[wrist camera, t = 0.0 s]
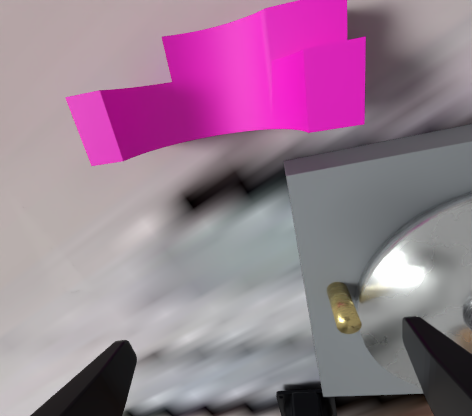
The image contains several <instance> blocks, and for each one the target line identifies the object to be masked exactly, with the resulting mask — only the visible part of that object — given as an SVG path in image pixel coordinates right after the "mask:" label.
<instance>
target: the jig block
mask: <svg viewBox="0 0 472 416" xmlns="http://www.w3.org/2000/svg"><path fill="white" fill-rule="evenodd" d="M284 167H285V173H286V179H287V185H288V191H289V197H290V203H291V209H292V215H293V221H294V227H295V233H296V239H297V245H298V251H299V257H300V263H301V269H302V275H303V281H304V287H305V293H306V299H307V305H308V311H309V317H310V323H311V329H312V335H313V341H314V347H315V353H316V359H317V365H318V370H319V376H320V382H321V387H322V393H323V397H333V396H363V395H392V394H422V393H423V390H422V388H421V387H418V386H416V385H413V384H410V383H408V382H406V381H404V380H402V379H400V378H398V377H396V376H395V375H393V374H391V373H390V372H388V371H387V370H386V369H385V368H383V367H382V366H381V365H380V364H379V363H378V362H377V361H376V360H375V359H374V358H373V356H372V355H371V354H370V352H369V351H368V349H367V347H366V346H365V344H364V341H363V338H362V336H361V333H360V330H359V331H358V332H356V333H353V334H344V333H341V332H340V331H339V330H338V329H337V326H336V323H335V319H334V316H333V312H332V309H331V305H330V302H329V298H328V295H327V287H328V286H329V285H330V284H331V283H334V282H342V283H344V284H345V285H346V286H347V288H348V290H349V293H350V295H351V298H352V301H353V303H354V299H355V294H356V288H357V285H358V282H359V280H360V277H361V274H362V272H363V271H364V269H365V267H366V265H367V263H368V262H369V260H370V259H371V257H372V256H373V255H374V253H375V252H376V251H377V249H378V248H379V247H380V246H381V245H382V244H383V243H384V242H385V241H386V240H387V239H388V238H389V237H390V236H391V235H392V234H393V233H394V232H396V231H397V230H398V229H399V228H400V227H402V226H403V225H404V224H406V223H407V222H409V221H410V220H412V219H413V218H415V217H416V216H418V215H419V214H421V213H423V212H425V211H426V210H428V209H430V208H432V207H434V206H436V205H438V204H440V203H443V202H445V201H447V200H450V199H452V198H454V197H457V196H460V195H463V194H466V193H470V192H472V124H469V125H464V126H459V127H454V128H449V129H444V130H439V131H434V132H429V133H424V134H419V135H414V136H409V137H403V138H398V139H393V140H388V141H383V142H378V143H373V144H368V145H363V146H358V147H353V148H348V149H343V150H338V151H333V152H327V153H322V154H317V155H312V156H307V157H302V158H297V159H292V160H287V161H284Z"/></svg>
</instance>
